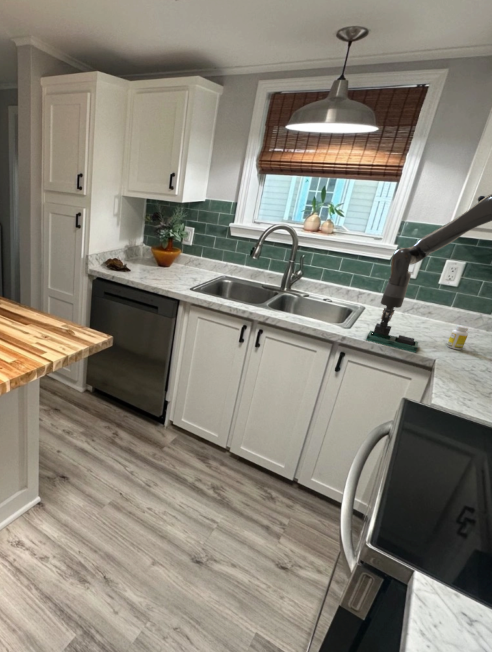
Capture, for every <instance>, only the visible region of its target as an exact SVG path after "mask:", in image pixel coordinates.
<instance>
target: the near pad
mask: <svg viewBox="0 0 492 652" xmlns="http://www.w3.org/2000/svg"><path fill="white" fill-rule="evenodd" d="M397 337H398V340H397V342H399V343H403V344H407V345H411V346H413V343H414V341H415V338H414V337H410V336H409V337H408V336H405V335H400V334H399V335H398V336H397Z"/></svg>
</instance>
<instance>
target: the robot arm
mask: <svg viewBox="0 0 492 652" xmlns="http://www.w3.org/2000/svg"><path fill="white" fill-rule="evenodd" d="M490 222H492V193H491V194H489V195H486V196H485V197H484V198H482V199H481V200H479V201H478V202H477V203H475V204H474V205H473V206H472V207H470V208H468V210H466V211H464V212H463V213H461V215H459V216H457V217H456V218H454V219H453V220H451V221H449V222H447V223H445V224H444V225H442V226H441V227H438V228H437V229H435V230H433V231H431V232H430V233H427V234H426V235H424V236H422V237H421V238H420V239H419V240H418V241H417V242H416V243H415V244H414V245H412V246H409V247H401V248H398V249H397V250H395V252H394V253H393V255H392V257H391V262H390V263H391V264H390V274H389V278H388V281H387V283H386V285H385V288H384V290H383V294H382V297H381V300H380V304H381V305H383V306H385V307H384V308H383V309H382V314H381V317H380V323H379V324H380V328H379V331H378V333H380V334H384V333H385V330H386V327H387V326H389V322H391V320H392V318H393V316H394V313H395V310H396V309H399V308H402V306H403V303H404V300H405V298H406V294H407V292H408V287H409V283H410V280H411V277H412V274H411V272H410V271H409V270H410V266H411V265H415V264H417V263H420V262H421V261H423V260H424V259H425V258H427V257H429V256H430V255H431V254H432V253H435V252H437V251H439V250H440V249H442V248H444V247H446V246H449V244H451V243H453V242H455V241H456V240H457V239H459V238H460V237H461V236H463V235H464V234H466V233H468V232H469V231H472V230H474V229H475V228H477V227H480V226H482V225H485V224H487V223H490Z"/></svg>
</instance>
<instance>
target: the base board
mask: <svg viewBox="0 0 492 652" xmlns="http://www.w3.org/2000/svg"><path fill="white" fill-rule="evenodd" d="M372 333H373V334H372ZM398 337H399V336H395V335H392V334H391V335H390V334H389V335H388V336H386V335H382V334H378V333H374V330H369V332H368V333H367V336H366V339H365V341H366V342H371V343H375V344H379V345H383V346H386V347H391V348H395V349H398V350H402V351H406V352H409V353H410V352H411V353H415V354H416V353H417V350H418V347H419V341H416V340H414V343H413V346H411V345H407V344H403V343H399V342H397V340H398Z"/></svg>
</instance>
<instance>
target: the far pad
mask: <svg viewBox="0 0 492 652" xmlns="http://www.w3.org/2000/svg"><path fill="white" fill-rule="evenodd" d="M379 328H380V323H379V322H377V323H376V325H375V326H374V329H373V331H374V333H378V331H379ZM391 330H392V326H391V325H388V326H387V327H386V330H385V333H384V334H382V335H386V336H388V335H390V332H391ZM378 334H380V333H378Z"/></svg>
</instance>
